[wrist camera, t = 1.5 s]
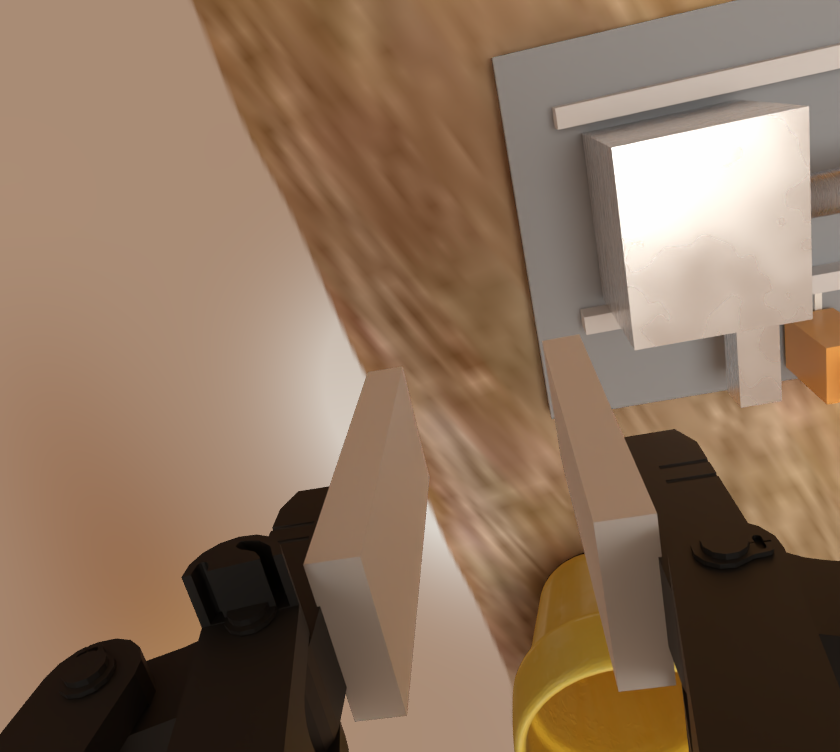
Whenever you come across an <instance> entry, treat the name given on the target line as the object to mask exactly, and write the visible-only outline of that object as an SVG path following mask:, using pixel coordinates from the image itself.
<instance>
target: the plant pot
mask: <svg viewBox="0 0 840 752" xmlns="http://www.w3.org/2000/svg"><path fill="white" fill-rule="evenodd" d="M674 670H675V679H676V685H674V686H665V687H656V688H647V689H639V690H630V691H621V692H619V691H618V687H617V683H616V679H615V675H614V671H613V667H612V662H611V658H610V654H609V650H608V646H607V642H606V638H605V634H604V630H603V626H602V622H601V618H600V614H599V610H598V606H597V602H596V597H595V593H594V589H593V585H592V581H591V577H590V573H589V569H588V565H587V561H586V557H585V554H582V555H579V556H576V557H574V558H572V559H570V560H568V561H566V562H565V563H563V564H561V565H560V566H559V567H558V568H557V569H556V570H555V571H554V572H553V573H552V574H551V575H550V576H549V578H548V579H547V581H546V583H545V585H544V587H543V589H542V592H541V597H540V602H539V608H538V614H537V619H536V624H535V630H534V636H533V642H532V646H531V649H530V650H529V651H528V653H527V654H526V656H525V657H524V659H523V661H522V662H521V664H520V666H519V669H518V671H517V674H516V677H515V682H514V688H513V738H514V751H515V752H689V748H688V739H687V730H686V720H685V711H684V702H683V693H682V683H681V681H680V678H679V675H678V672H677V669H676V666H675V664H674Z"/></svg>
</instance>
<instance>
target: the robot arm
mask: <svg viewBox="0 0 840 752" xmlns="http://www.w3.org/2000/svg"><path fill="white" fill-rule="evenodd" d="M542 344H543V350H544V356H545V362H546V369H547V375H548V381H549V387H550V393H551V399H552V405H553V412H554V418H555V424H556V430H557V436H558V442H559V449H560V455H561V459H562V464H563V468H564V472H565V476H566V480H567V484H568V488H569V492H570V496H571V500H572V504H573V508H574V512H575V516H576V520H577V524H578V528H579V533H580V537H581V541H582V545H583V549H584V553H585V557H586V561H587V565H588V569H589V573H590V577H591V581H592V585H593V589H594V593H595V597H596V602H597V606H598V610H599V614H600V618H601V622H602V626H603V630H604V634H605V638H606V642H607V646H608V650H609V654H610V658H611V662H612V667H613V671H614V675H615V679H616V683H617V687H618V691H619V692H621V691H630V690H639V689H647V688H656V687H665V686H674V685H676V679H675V670H674V664H675V666H676V669H677V672H678V675H679V678H680V681H681V683H682V693H683V702H684V711H685V720H686V730H687V739H688V748H689V752H840V561H830V560H819V559H812V558H805V557H801V556H797V555H793V554H790V553H786V551H785V549H784V547H783V546H782V544H781V543H780V542H779V541H778V539H777V538H776V537H775V536H774V535H773V534H771V533H769V532H768V531H766V530H764V529H762V528H761V527H759V526H756V525H752V524H749V523H747V521H746V519H745V518H744V516H743V515H742V513H741V511H740V510H739V508H738V507H737V505H736V504H735V502H734V500H733V499H732V497H731V496H730V494H729V492H728V491H727V489H726V488H725V486H724V484H723V483H722V481H721V480H720V478H719V476H717V475H716V472H715V470H714V468H713V467H712V465H711V464H710V462H708V460H707V457H706V456H705V454H704V453H703V451H702V449H701V448H700V446H699V445H698V443H697V442H696V441H695V440H693V439H691V438H689V437H688V436H686V435H684V434H682V433H680V432H679V431H677V430H675V429H673V430H667V431H660V432H654V433H648V434H642V435H635V436H629V437H624V436H623V434H622V432H621V429H620V427H619V425H618V422H617V420H616V418H615V415H614V413H613V411H612V409H611V406H610V404H609V402H608V399H607V397H606V395H605V392H604V390H603V388H602V386H601V383H600V381H599V379H598V376H597V374H596V372H595V369H594V367H593V365H592V363H591V360H590V358H589V356H588V353H587V351H586V349H585V346H584V344H583V342H582V339H581V337H580V335H579V334H578V335H573V336H567V337H561V338H556V339H550V340H545V341H542ZM428 487H429V474H428V470H427V465H426V461H425V457H424V453H423V449H422V445H421V440H420V436H419V432H418V428H417V424H416V420H415V415H414V411H413V407H412V403H411V399H410V395H409V391H408V386H407V382H406V378H405V374H404V370H403V366H400V367H395V368H389V369H384V370H378V371H372V372H368V373H367V376H366V379H365V382H364V385H363V388H362V391H361V394H360V397H359V400H358V403H357V406H356V409H355V412H354V415H353V418H352V421H351V424H350V427H349V430H348V433H347V436H346V439H345V442H344V445H343V448H342V451H341V454H340V457H339V460H338V463H337V466H336V468H335V472H334V474H333V477H332V481H331V483H330V486H329V487H323V488H317V489H310V490H305V491H298V492H297V493H296V494H295V495H294V496H293V497H292V498H291V499H290V500H289V501H288V502H287V503H286V504H285V505H284V506H283V507H282V508H281V509H280V511H279V514H278V516H277V518H276V520H275V523H274V525H273V531H271V532H270V534H269V536H262V535H250V536H242V537H238V538H235V539H231V540H228V541H226V542H223V543H220V544H218V545H216V546H215V547H213V548H211V549H209V550H207V551H206V552H204V553H202V554H201V555H200V556H199V557H198V558H197V559H196V560H194V561H193V562H192V563H191V564H190V565H189V566H188V568H187V569H186V571H185V573H184V574H183V576H182V580H183V582H184V585H185V587H186V590H187V592H188V594H189V597H190V599H191V602H192V604H193V607H194V609H195V612H196V614H197V617H198V619H199V622H200V624H201V627H202V630H201V633H200V637H199V640H198V641H197V642H195V643H193V644H191V645H188V646H186V647H184V648H181V649H178V650H176V651H173V652H170V653H168V654H165V655H162V656H159V657H156V658H154V659H151V660H148V661H146V660H145V658H144V656H143V653H142V651H141V649H140V647H139V646H138V645H136V644H135V643H134V642H132V641H131V640H124V639H112V640H107V641H102V642H98V643H95V644H93V645H90V646H89V647H85V648H83V649H81V650H79V651H77V652H76V653H74V654H73V655H72V656H70V657H69V658H67V659H66V660H64V661H63V662H61V663H60V664H59V665H58V666H57V667H56V668H55V669H54V670H53V671H52V672H51V673H50V674H49V675H48V676H47V677H46V678H45V679H44V680H43V681H42V682H41V684H40V685H39V686H38V687H37V689H36V690H35V691H34V692H33V694H32V695H31V696H30V697H29V699H28V700H27V701H26V702H25V704H24V705H23V706H22V707H21V709H20V710H19V711H18V712H17V714H16V715H15V716H14V717H13V719H12V720H11V721H10V722H9V724H8V725H7V726H6V727H5V729H4V730H3V731H2V733H1V734H0V752H349V751H348V750H349V749H348V745H347V741H346V737H345V734H344V731H343V728H342V725H341V722H340V719H341V714H342V709H343V704H344V699H345V694H346V696H347V699H348V702H349V705H350V708H351V711H352V714H353V717H354V720H355V722H356V721H365V720H373V719H383V718H392V717H400V716H407V710H408V700H409V689H410V679H411V668H412V658H413V647H414V636H415V624H416V614H417V604H418V594H419V583H420V572H421V562H422V551H423V540H424V530H425V519H426V507H427V498H428Z"/></svg>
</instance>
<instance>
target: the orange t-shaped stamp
mask: <svg viewBox="0 0 840 752" xmlns="http://www.w3.org/2000/svg"><path fill="white" fill-rule="evenodd" d="M784 326H785V356H786V368H788V369H789V370H790V371H791V372H792V373H793V374H794V375H795V376H796V377H797V378H798V379H800V380H801V381H802V382H803V383H804V384H805V385H806V386H807V387H808V388H809V389H811V390H812V391H813V392H814V393H815V394H816V395H817V396H818V397H819V398H820V399H822V400H823V401H824V402H825V403H826V404H832V403H839V402H840V312H839V311H837V310H835V309H834V308H829V309H823V310H817V311H813V319H811V320H805V321H800V322H794V323H788V324H784Z"/></svg>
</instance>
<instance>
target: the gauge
mask: <svg viewBox="0 0 840 752" xmlns="http://www.w3.org/2000/svg"><path fill="white" fill-rule="evenodd" d="M582 137H583V145H584V153H585V161H586V169H587V177H588V185H589V192H590V200H591V208H592V216H593V224H594V232H595V240H596V248H597V255H598V263H599V271H600V279H601V287H602V295H603V299H604V301H605V303H606V304H607V306H608V308H609V309H610V311H611V312H612V314H613V316H614V317H615V319H616V321H617V322H618V324H619V326H620V327H621V329H622V330H623V332H624V334H625V335H626V337H627V339H628V340H629V342H630V344H631V345H632V347H633V348H634V350H640V349H645V348H651V347H657V346H663V345H668V344H674V343H680V342H685V341H691V340H697V339H703V338H708V337H714V336H720V335H724V342H725V357H726V373H727V388H728V393H729V394H730V395H731V396H732V398H733V399H734V400H735V401H736V402H737V404H738V405H739V406H740V407H741V408H742V407H748V406H754V405H760V404H767V403H773V402H779V401H782V388H781V360H780V331H779V325H783V324H788V323H794V322H800V321H805V320H811V319H813V301H812V244H811V219H813V218H819V217H824V216H829V215H834V214H839V213H840V168H835V169H830V170H825V171H820V172H815V173H810V130H809V106H805V105H794V104H782V103H770V102H759V101H747V100H733V101H728V102H723V103H719V104H714V105H710V106H705V107H700V108H696V109H691V110H686V111H682V112H677V113H673V114H668V115H663V116H659V117H654V118H650V119H645V120H640V121H636V122H631V123H626V124H622V125H617V126H613V127H608V128H603V129H599V130H594V131H590V132H585V133H582Z"/></svg>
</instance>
